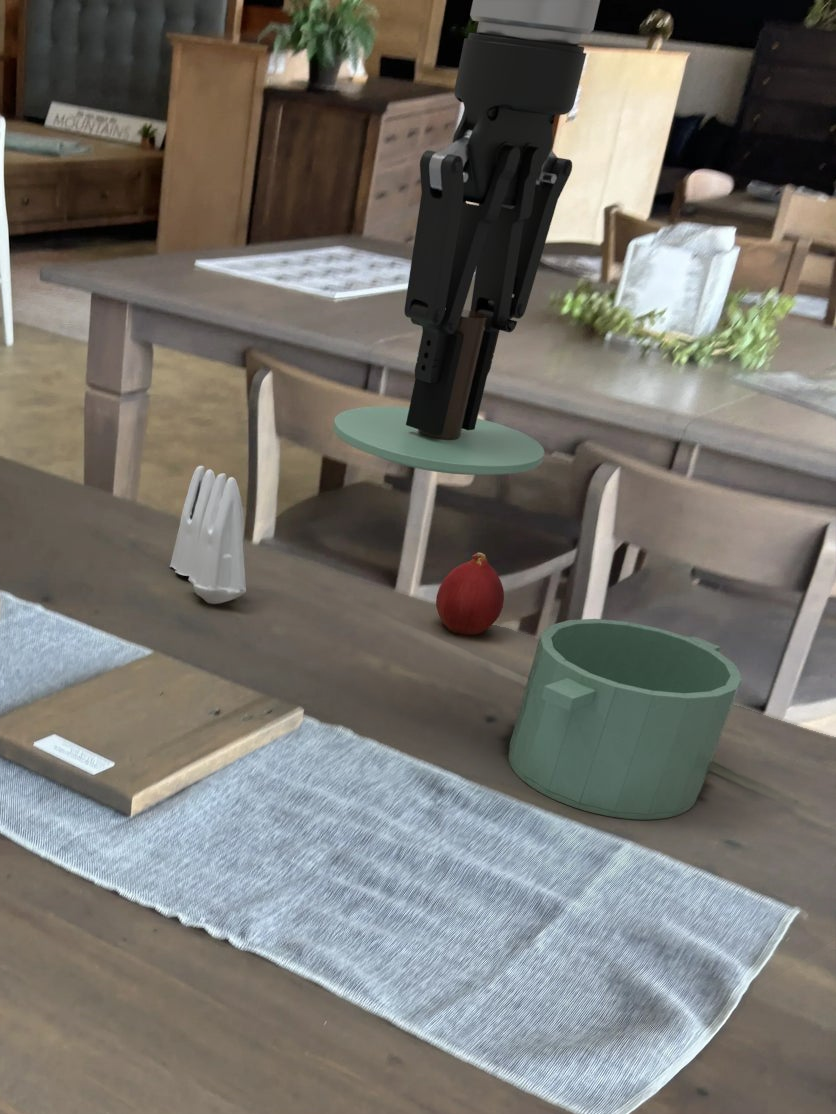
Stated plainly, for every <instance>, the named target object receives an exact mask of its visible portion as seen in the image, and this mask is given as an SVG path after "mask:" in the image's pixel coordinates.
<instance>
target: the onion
mask: <svg viewBox="0 0 836 1114" xmlns="http://www.w3.org/2000/svg"><path fill="white" fill-rule="evenodd" d="M504 602H505V591H504V587H503V583H502V581H501V579H500V577H499V575H498V573H497V571H496V570H495V569H494V567H492V565H490V564H489V561H488V558H487V557H486V554H484V553H482V552H477V553H475V554H473V555H471V560H469V561H466V562H463V563H461V564H460V565H458V566H456V567H455V568H453V569H452V570H451V571H450V572H449V573H448V574H447V575H446V576H445V578H444V579H443V580H442V581H441V584H440V586H439V587H438V590H437V593H436V598H435V607H436V610H437V615H438V617H439V619H440V621H442V623H443V625H444V626H445V627H446V628H447V629H448V630H449V631H451V632H453V633H455V634H458V635H463V636H476V635H480V634H482V633H484V631H486V630H487V629H489V628H490V627H491V626H493V625H494V623H496V621H497V620H498V619H499V617H500V615H501V614H502V613H501V612H502V610H503V608H504Z"/></svg>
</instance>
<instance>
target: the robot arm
mask: <svg viewBox="0 0 836 1114" xmlns="http://www.w3.org/2000/svg"><path fill="white" fill-rule="evenodd" d="M600 3H601V0H472V4H471V8H470V14H469V16H470V19H471V20H472V21H474V22H478V24H477V27H476V33H474V32H469V33H468V35H467V38H463V39H464V40H463V45H462V49H461V55H460V60H459V65H458V69H457V75H456V79H455V83H454V89H453V95H454V97H455V99H456V100H457V101H458V102H460V103H463V112H462V116H461V119H460V121H459V123H458V125H457V127H456V129H455V131H454V134H453V137H452V143H451V144H449V145H448V146H447V147H445V148H444V149H442V150H441V151H434V150H429V149H427V150H424V152H423V153H422V155H421V157H420V161H419V173H420V188H421V189H420V190H421V195H420V201H419V207H418V216H417V222H416V228H415V236H414V243H413V249H412V255H411V261H410V262H411V263H410V270H409V275H408V284H407V290H406V297H405V303H404V315H405V317H406V318H409V319H410V322H411V323H412V324H413V325H416V326H420V327H421V329H422V333H421V338H420V343H419V348H418V352H417V357H416V362H415V366H414V384H413V388H412V393H411V398H410V401H409V402H410V403H409V406H408V407H409V412H408V417H407V421H406V425H407V426H410V427H413V428H415V429H418V430H421V431H424V432H427V433H430V434H433V435H441V434H442V432H443V428H444V423H445V419H446V415H447V410H448V406H449V401H450V397H451V392H452V388H453V383H454V379H455V374H456V370H457V365H458V361H459V357H460V352H461V348H462V343H463V339H464V335H462V334H459V333H455V331H456V330H457V327H458V325H459V321H460V318H461V315H462V312H463V310H464V308H465V305H466V301H467V299H468V296H469V293H470V289H471V286H472V283H473V281H474V283H473V290H472V297H471V304H470V310H469V311H474V312H479V313H482V314H484V315H486V316H487V322H486V326H485V331H484V335H483V339H482V344H481V348H480V352H479V357H478V361H477V365H476V370H475V374H474V378H473V383H472V387H471V391H470V396H469V400H468V404H467V409H466V413H465V417H464V422H463V426H462V429H465V430H475V425H476V421H477V418H478V417H479V413H480V407H481V405H482V399H483V395H484V391H485V387H486V382H487V378H488V375H489V373H490V371H491V368H492V365H493V359H494V354H495V351H496V347H497V342H498V338H499V334H500V331H501V332H506V333H512V332H513V331H514V330H515V329H516V327H517V324H518V321H517V320H519V319H521V318H522V317H523V316H524V315H525V312H526V311H527V307H528V303H529V300H530V297H531V293H532V291H533V286H534V283H535V280H536V276H537V272H538V269H539V266H540V263H541V259H542V256H543V252H544V249H545V245H546V242H547V239H548V235H549V232H550V228H551V225H552V221H553V217H554V214H555V211H556V207H557V204H558V201H559V199H560V196H561V194H562V192H563V191H564V189H565V186H566V184H567V182H568V180H569V178H570V176H571V174H572V172H573V171H572V170H573V162H572V160H571V159H568V158H563V157H559V156H557V154H556V153H555V152H554V151H553V147H554V124H555V117H556V116H563V115H567V114H569V113H570V112H571V111H572V110H573V109H574V106H575V103H576V98H577V95H578V90H579V86H580V82H581V78H582V74H583V70H584V65H585V61H586V58H587V53H586V52H584V51H585V46H581V45H580V43H581V42H580V41H581V39H582V36H583V35H589V34H591V32H593V31H594V28H595V24H596V20H597V16H598V11H599V7H600ZM467 202H468V203H467ZM515 319H517V320H515Z"/></svg>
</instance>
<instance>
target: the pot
mask: <svg viewBox="0 0 836 1114" xmlns="http://www.w3.org/2000/svg"><path fill="white" fill-rule="evenodd" d="M720 650H721V646H719V645H717V644H715V643H712V642H709V641H707V640H705V639H702V638H700V637H697V636H694V635H693V636H685V635H681V634H678V633H676V632H673V631H669V630H667V629H663V628H659V627H655V626H650V625H647V624H646V625H645V624H640V623H636V622H630V621H624V620H614V619H603V618H584V619H581V618H580V619H569V620H568V619H567V620H565V621H561V622H557V623H555V624H551V625H548V626H547V628H546V629H545V630H544V631H543V632H542V633H541V634H540V635H539V639H538V643H537V645H536V650H535V653H534V656H533V659H532V664H531V667H530V671H529V675H528V678H527V682H526V685H525V688H524V692H523V695H522V699H521V702H520V703H521V704H520V706H519V710H518V713H517V716H516V721H515V725H514V728H513V732H512V735H511V739H510V742H509V746H508V747H509V748H508V749H509V751H508V762H509V766H510V767H511V769H512V771H513V772H514V773H515V774H516V775H517V776H518V777H519V778H520V779H521V781H523V782H524V783H525V784H527V786H529V787H531V788H533V789H534V790H535V791H537V792H539V793H540V794H542V795H544V796H546V797H547V798H550V799H552V800H554V801H556V802H559V803H562V804H564V805H566V806H569V807H571V808H574V809H578V810H581V811H584V812H588V813H592V814H595V815H601V816H606V817H611V818H618V819H624V820H625V819H626V820H638V821H639V820H643V821H645V820H647V821H649V820H650V821H651V820H661V819H668V818H673V817H676V816H679V815H682V814H684V813H686V812H688V811H689V810H690V809H692V807H694V805H695V803H696V802H697V800H698V796H699V794H700V792H701V790H702V788H703V785H704V782H705V780H706V777H707V775H708V772H709V769H710V767H711V764H712V761H713V758H714V755H715V753H716V751H717V747H718V745H719V742H720V740H721V737H722V734H723V731H724V729H725V726H726V723H727V720H728V718H729V715H730V714H731V710H732V708H733V705H734V703H735V700H736V697H737V694H738V691H739V688H740V686H741V683H742V682H743V681H742V680H743V676H742V675H741V673H740V670H739V669H738V667H737V664H735V663H734V662H733V661H731V660H730V659H729V658H727V656H725V655H723V654H722V653H721V652H720Z"/></svg>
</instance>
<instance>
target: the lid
mask: <svg viewBox="0 0 836 1114" xmlns="http://www.w3.org/2000/svg"><path fill="white" fill-rule="evenodd" d="M486 322H487V316H486V315H484V314H482V313H479V312H474V311H470V310H469V309H463V312H462V315H461V318H460V321H459V325H458V327H457V330H456V331H455V333H459V334H462V335H464V339H463V343H462V348H461V352H460V357H459V361H458V365H457V370H456V374H455V379H454V383H453V388H452V392H451V397H450V401H449V406H448V410H447V415H446V419H445V423H444V428H443V432H442V434H441V435H433V434H430V433H427V432H424V431H421V430H418V429H415V428H413V427H410V426H407V425H406V421H407V417H408V412H409V407H410V406H394V405H393V406H386V405H384V406H382V405H381V406H380V405H379V406H364V407H363V406H362V407H357V408H351V409H348V410H343V411H342V412H340V413H338V414H337V415H336V416H335V418H334V419H333V425H332V431H333V432H334V435H335V436H336V437H337V438H338V439H339V440H341V441H342V442H344V443H345V444H347V445H349V446H351V447H353V448H355V449H357V450H359V451H362V452H364V453H367V454H369V455H371V456H372V455H373V456H375V457H378V458H381V459H383V460H385V461H388V462H391V463H395V464H398V465H400V466H406V467H409V468H414V469H418V470H423V471H428V472H429V471H430V472H435V473H441V474H449V475H451V474H452V475H465V476H466V475H467V476H484V475H485V476H486V475H513V474H520V473H525V472H528V471H532V470H534V469H537V468H538V467H539V466H541V464H542V463H543V460H544V456H545V448H544V446H542V444H541V443H540V442H539V441H537V440H535V439H534V438H532V437H531V436H530V435H527V434H526V433H523V432H521V431H519V430H516V429H514V428H511V427H509V426H505V425H503V424H499V423H496V422H492V421H490V420H487V419H482V418H478V417H477V421H476V425H475V430H465V429H462V426H463V422H464V417H465V413H466V409H467V404H468V400H469V396H470V391H471V387H472V383H473V378H474V374H475V370H476V365H477V361H478V357H479V352H480V348H481V344H482V339H483V335H484V331H485V326H486Z"/></svg>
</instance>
